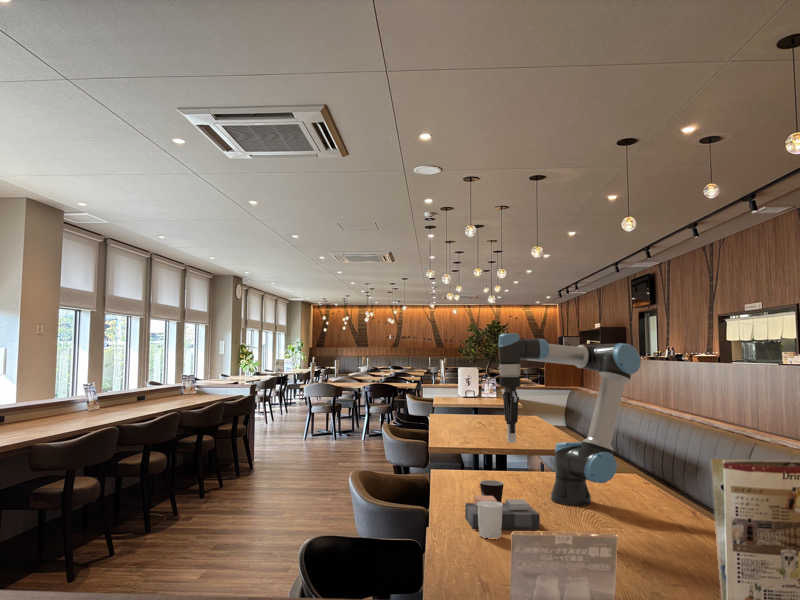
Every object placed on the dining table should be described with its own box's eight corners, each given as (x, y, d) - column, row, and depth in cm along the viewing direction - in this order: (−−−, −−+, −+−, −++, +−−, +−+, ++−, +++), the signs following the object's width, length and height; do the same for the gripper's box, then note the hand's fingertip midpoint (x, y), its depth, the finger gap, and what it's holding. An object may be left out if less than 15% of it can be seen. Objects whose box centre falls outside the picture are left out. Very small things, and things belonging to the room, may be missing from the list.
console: (527, 518, 197) (527, 503, 197) (539, 530, 183) (539, 514, 183) (465, 517, 195) (465, 503, 196) (473, 530, 181) (473, 514, 182)
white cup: (496, 542, 170) (497, 508, 171) (473, 537, 174) (473, 504, 175) (506, 535, 176) (506, 502, 177) (483, 531, 180) (483, 499, 181)
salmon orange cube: (492, 513, 192) (492, 495, 193) (496, 518, 186) (496, 500, 187) (474, 513, 192) (474, 495, 192) (477, 518, 186) (478, 500, 186)
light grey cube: (523, 517, 193) (523, 499, 194) (529, 522, 187) (529, 504, 187) (505, 517, 192) (505, 499, 193) (510, 522, 186) (510, 504, 187)
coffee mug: (503, 514, 200) (503, 486, 201) (479, 512, 202) (479, 484, 203) (503, 506, 212) (503, 479, 213) (480, 504, 213) (481, 478, 215)
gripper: (495, 375, 209) (496, 439, 207) (504, 376, 196) (506, 445, 194) (514, 375, 210) (516, 439, 207) (525, 376, 197) (527, 444, 194)
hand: (511, 442), depth 201 cm, fingers closed
